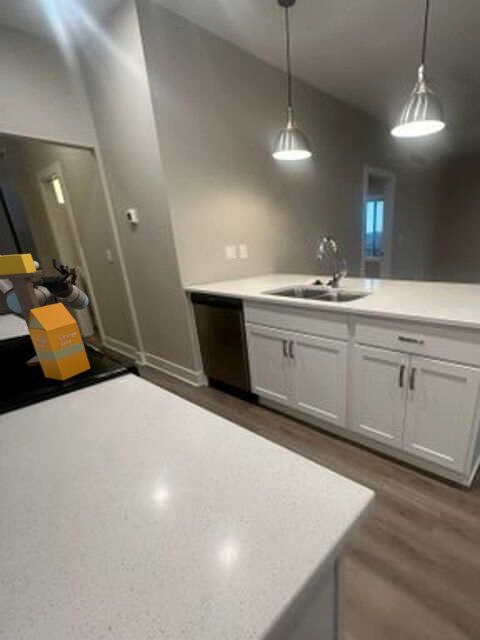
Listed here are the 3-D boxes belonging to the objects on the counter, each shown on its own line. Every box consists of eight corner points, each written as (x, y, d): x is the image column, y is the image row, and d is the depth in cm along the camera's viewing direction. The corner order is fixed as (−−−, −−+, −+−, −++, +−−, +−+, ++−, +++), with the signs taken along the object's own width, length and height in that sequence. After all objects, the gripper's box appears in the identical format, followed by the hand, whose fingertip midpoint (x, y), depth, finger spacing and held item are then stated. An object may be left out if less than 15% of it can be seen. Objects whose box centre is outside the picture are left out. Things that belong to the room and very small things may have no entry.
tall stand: (27, 366, 108) (-8, 275, 97) (36, 359, 114) (4, 273, 103) (62, 362, 110) (32, 272, 99) (69, 355, 116) (42, 270, 105)
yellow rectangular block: (-1, 275, 98) (-8, 257, 96) (23, 269, 111) (18, 253, 109) (27, 273, 99) (20, 255, 97) (48, 267, 112) (43, 251, 110)
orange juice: (44, 377, 99) (19, 309, 91) (73, 365, 106) (52, 301, 99) (63, 380, 96) (39, 310, 88) (91, 368, 103) (71, 302, 96)
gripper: (23, 282, 126) (-17, 256, 106) (97, 276, 132) (73, 250, 111) (25, 301, 125) (-16, 279, 105) (99, 295, 131) (74, 272, 110)
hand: (29, 264), depth 108 cm, fingers open, 13 cm apart
